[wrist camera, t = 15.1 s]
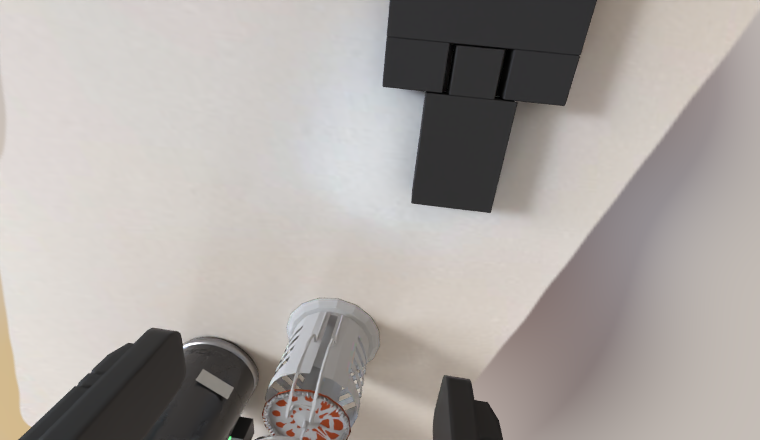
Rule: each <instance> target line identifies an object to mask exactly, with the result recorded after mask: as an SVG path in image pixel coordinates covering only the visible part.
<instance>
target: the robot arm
mask: <svg viewBox="0 0 760 440" xmlns="http://www.w3.org/2000/svg"><path fill="white" fill-rule="evenodd" d="M257 383H258V371H257V368H256V366H255V364H254V362H253V361H252V359H251V358H250V357H249V356H248V355H247V354H246V353H245V352H244V351H243V350H241V349H240V348H238V347H237V346H235V345H233V344H231V343H229V342H227V341H224V340H221V339H217V338H210V337H201V338H195V339H192V340H190V341H188V342H186V343H185V344H184V345H183V344H182V338H181V334H180V333H179V332H177V331H171V330H164V329H158V328H151V329H149V330H148V331H146V332H145V333H144V334H143V335H142V336H141V337H140V338H139V339H138V340H137V341H136V342H135V343H134V344H132V343H127V344H126V345H124V346H122V347H121V348H119V349H117V350H115V351H114V352H112V353H110V354H109V355H107V356H106V357H105V358H104V359H103V360H102V361H101V362H100V363H99V364H98V365H97V366H96V367H95V368H94V369H93V370H92V372H91V373H88V374H87V375H86V376H85V377H84V378H83V379H82V380H81V381H80V382H79V383H78V386H77V387H76V386H75V387H74V388H73V389H71V390H70V391H69V392H68V393H67V394H66V395H65V396H64V397H63V398H62V399H61V400H60V401H59V402H58V403H57V404H56V405H55V406H54V407H53V408H51V409H50V410H49V411H48V412H47V413H46V414H45V415H44V416H43V417H42V418H41V419H40V420H39V421H38V422H37V423H36V424H35V425H34V426H32V427H31V428H30V429H29V430H28V431H27V432H26V433H25V434H24V435H23V436H22V437H21V438H20V439H19V440H251V439H252V437H253V434H254V424H253V419H251V418H244V417H240V416H241V414H242V412H243V410H244V408H245V406H246V404H247V402H248V400H249V398H250V396H251V395H252V393H253V392H254V390H255V387H256V385H257ZM262 438H266V437H259V438H257V439H255V440H259V439H262ZM433 440H503V437H502V433H501V428H500V424H499V420H498V418H497V417H496V415H495V413H494V412H493V410H492V409H491V407H490V405H489V404H488V402H483V401H477V400H474V396H473V389H472V384H471V381H470V379H465V378H459V377H452V376H446V375H444V377H443V380H442V384H441V387H440V391H439V395H438V399H437V403H436V407H435V412H434V419H433Z"/></svg>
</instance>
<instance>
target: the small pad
mask: <svg viewBox="0 0 760 440" xmlns="http://www.w3.org/2000/svg"><path fill="white" fill-rule="evenodd" d="M504 53H505V50H502V49H491V48H481V47H471V46H460V45H457V46H454V48H453V55H452V61H451V67H450V73H449V80H448V86H447V92H445V91H442V93H438V92H428V91H426V92H425V100H424V107H423V114H422V122H421V129H420V137H419V144H418V152H417V159H416V166H415V174H414V181H413V189H412V201H411V203H413V204H421V205H430V206H438V207H446V208H454V209H463V210H471V211H479V212H487V213H491V210H492V206H493V201H494V197H495V193H496V189H497V185H498V181H499V177H500V173H501V168H502V164H503V160H504V156H505V152H506V148H507V144H508V140H509V135H510V131H511V127H512V123H513V119H514V115H515V111H516V107H517V102H515V101H513V100H504V99H503V98H501V97H495V95H496V90H497V85H498V81H499V76H500V71H501V67H502V62H503V57H504Z"/></svg>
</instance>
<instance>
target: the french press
mask: <svg viewBox="0 0 760 440" xmlns="http://www.w3.org/2000/svg"><path fill="white" fill-rule="evenodd" d="M287 332H288V338H289V344H288V345H287V347H288V349H287V347H286V350H285V353H284V354H283V356H282V358H284V359H283V360H282V358H281V361H280V364H279V365H278V367H277V369H276V372H275V375H274V377H273V378H272V380H271V382H270V385H269V387H268V389H267V393H266V397H265V400H266V403H265V406H264V409H263V412H262V416H263V420H264V424H265V426H266V428H267V429H268V430H269V432H271V434H272V435H273V436H270V437H266V438H262V439H259V440H347V438H348V436H349V435H350V433H351V427H352V425H353V424H354V422H355V420H356V419H357V417H358V412H359V407H360V399H359V398H361V396H362V386H363V384H364V374H365V373H366V364H367V363H368V362H369V361H370V360H372V359H373V358H374V356H375V354H376V352H377V350H378V348H379V346H380V340H379V330H378V328H377V327H376V325H375V323H374V321H373V320H372V318H371V317H370V316H369V315H368V314H367V313H365V312H364V311H363V310H362V309H360V308H359V307H358V306H357V305H354V304H351V303H349V302H346V301H343V300H340V299H333V298H317V299H314V300H311V301H308V302H305V303H302V304H301V305H300V306H299V307H298V308H297V309H296V310H295V311H294V312H293V313H291V315H290V318H289V321H288V324H287ZM289 350H290V352H289V353H288V354H287V352H288V351H289ZM285 360H286V361H287V363H285V364H284V365H283V364H282V363H283V362H284V361H285ZM362 367H364V369H365V370H364V371H363V368H362ZM278 368H279V370H278ZM358 369H360V373H358V372H357V370H358ZM277 370H278V372H277ZM352 372H354V376H351V374H350V373H352ZM294 373H296V374H295V375H294ZM299 373H300V374H301V375H302V376H303V377H304V378H305V379H304V382H302V381H301V380H300V379H299V378H298V375H299ZM286 375H287V376H288V377H289V378H290V379H291V380H292V381H293V384H292V387H291V386H290V385H289V384H288V383H287V382H286V381H285V380H284V379H282V378H281V377H282V376H286ZM361 377H362V381H360V378H361ZM354 380H357V384H355V383H354ZM274 381H275V382H276V383H278V384H279V385H281V386H282V387H283V388H284V389H285V390H287V391H283V392H278V391H277V390H275V389H274V388H272V387H271V385H272V383H273V382H274ZM296 385H297V386H298V387H299V388H300V389H295V386H296ZM341 387H343V388H345V389H343V390H341ZM357 389H360V393H358V391H357ZM347 393H350V395H351V397H349V398H346V399H344V400H341V401H339V402H338V400H339V397H340V396H342V395H345V394H347ZM351 402H355V404H356V406H355V407H353V408H350V409H348V410H345V411H344V410H343V408H342V407H341V406H344V405H346V404H349V403H351Z"/></svg>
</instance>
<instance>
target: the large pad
mask: <svg viewBox="0 0 760 440" xmlns="http://www.w3.org/2000/svg"><path fill="white" fill-rule="evenodd" d="M596 2H597V0H390V6H389V17H388V29H387V41H386V52H385V63H384V75H383V87H390V88H400V89H409V90H419V91H428V92H438V93H442V91H443V85H444V78H445V72H446V65H447V59H448V53H449V46H450V44H457V45H467V46H478V47H488V48H498V49H508V50H506V54H505V58H504V63H503V68H502V72H501V77H500V81H499V86H498V90H497V96H499V97H501V98H503V99H504V100H513V101H523V102H532V103H541V104H551V105H560V106H565V104H566V101H567V98H568V94H569V91H570V88H571V84H572V81H573V78H574V74H575V71H576V68H577V64H578V61H579V58H580V56H579V55H581V52H582V48H583V45H584V42H585V38H586V35H587V32H588V28H589V25H590V22H591V18H592V15H593V12H594V8H595V5H596Z"/></svg>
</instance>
